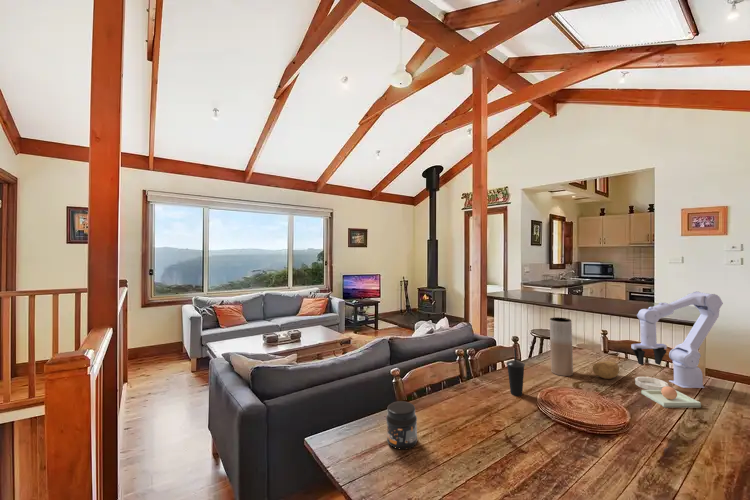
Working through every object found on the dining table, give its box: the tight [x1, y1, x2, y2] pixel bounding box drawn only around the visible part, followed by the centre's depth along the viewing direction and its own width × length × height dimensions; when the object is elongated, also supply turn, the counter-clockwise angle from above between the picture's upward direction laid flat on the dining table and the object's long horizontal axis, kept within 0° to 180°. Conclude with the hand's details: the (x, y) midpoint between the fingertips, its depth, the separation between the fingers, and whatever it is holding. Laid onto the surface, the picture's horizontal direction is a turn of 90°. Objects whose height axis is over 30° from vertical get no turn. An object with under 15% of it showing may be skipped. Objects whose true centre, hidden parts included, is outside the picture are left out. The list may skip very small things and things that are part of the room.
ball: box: [661, 385, 677, 399], centre depth 138 cm, size 5×5×5 cm
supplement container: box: [385, 400, 418, 450], centre depth 114 cm, size 10×10×12 cm
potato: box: [592, 360, 620, 380], centre depth 163 cm, size 10×14×8 cm
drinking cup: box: [506, 348, 526, 397], centre depth 148 cm, size 8×8×20 cm
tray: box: [641, 389, 702, 409], centre depth 138 cm, size 14×12×2 cm
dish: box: [634, 376, 670, 390], centre depth 151 cm, size 12×12×2 cm
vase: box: [549, 316, 574, 377], centre depth 171 cm, size 10×10×28 cm
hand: (649, 364), depth 154 cm, fingers open, 7 cm apart
